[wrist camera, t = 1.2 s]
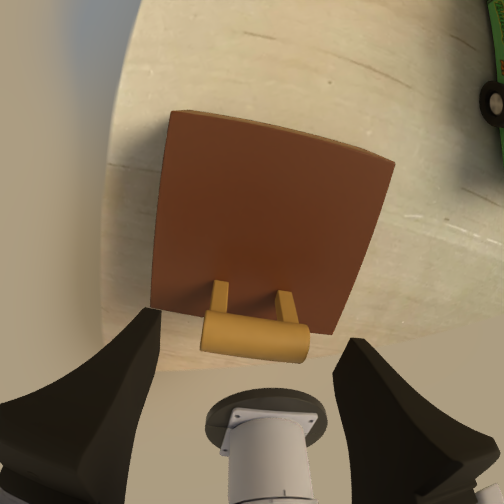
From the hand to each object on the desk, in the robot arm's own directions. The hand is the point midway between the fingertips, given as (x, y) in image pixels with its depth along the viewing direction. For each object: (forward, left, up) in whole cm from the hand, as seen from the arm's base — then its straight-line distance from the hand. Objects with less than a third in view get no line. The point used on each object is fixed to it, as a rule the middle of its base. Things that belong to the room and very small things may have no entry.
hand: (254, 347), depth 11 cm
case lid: (+3, 0, -4) cm, 5 cm away
